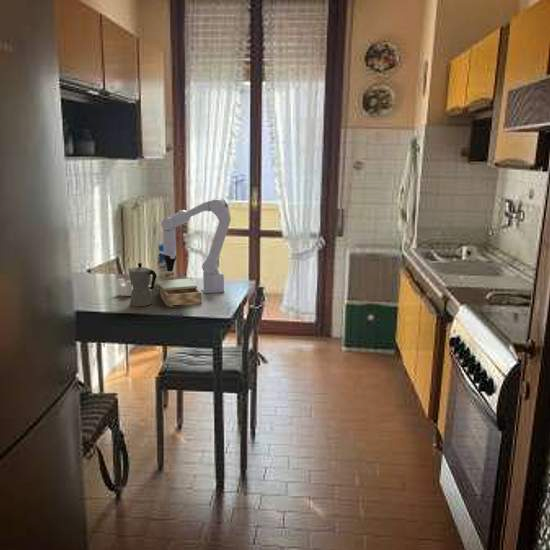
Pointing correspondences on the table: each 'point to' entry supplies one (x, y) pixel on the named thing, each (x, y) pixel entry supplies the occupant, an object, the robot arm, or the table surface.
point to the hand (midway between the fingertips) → (170, 271)
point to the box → (181, 296)
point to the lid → (175, 284)
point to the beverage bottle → (163, 267)
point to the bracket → (125, 287)
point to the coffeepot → (141, 285)
